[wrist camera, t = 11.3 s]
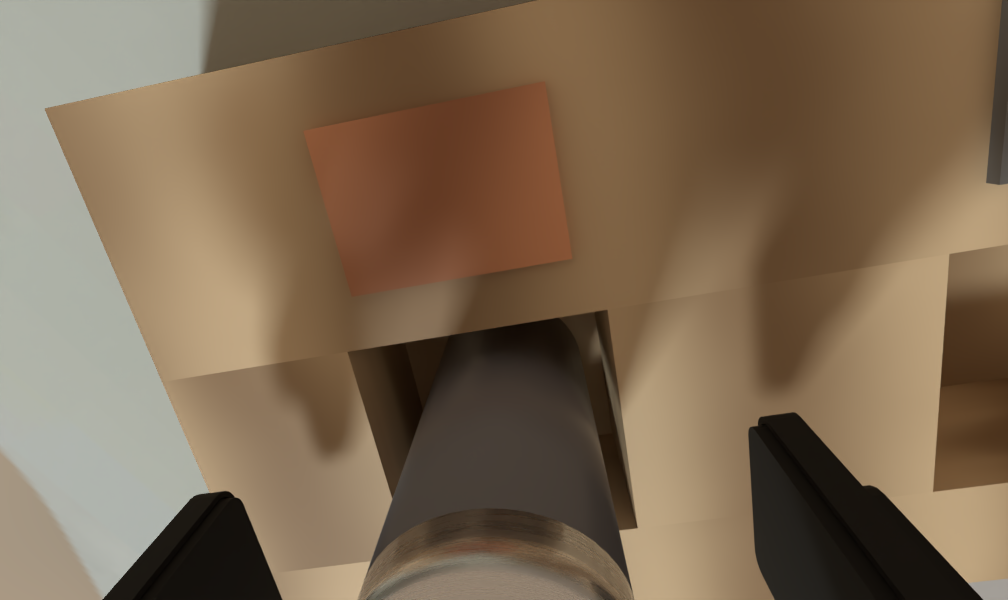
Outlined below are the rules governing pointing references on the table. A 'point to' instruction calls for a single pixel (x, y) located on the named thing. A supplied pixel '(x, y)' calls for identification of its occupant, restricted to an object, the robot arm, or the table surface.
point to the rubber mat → (991, 589)
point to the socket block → (583, 260)
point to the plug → (503, 481)
